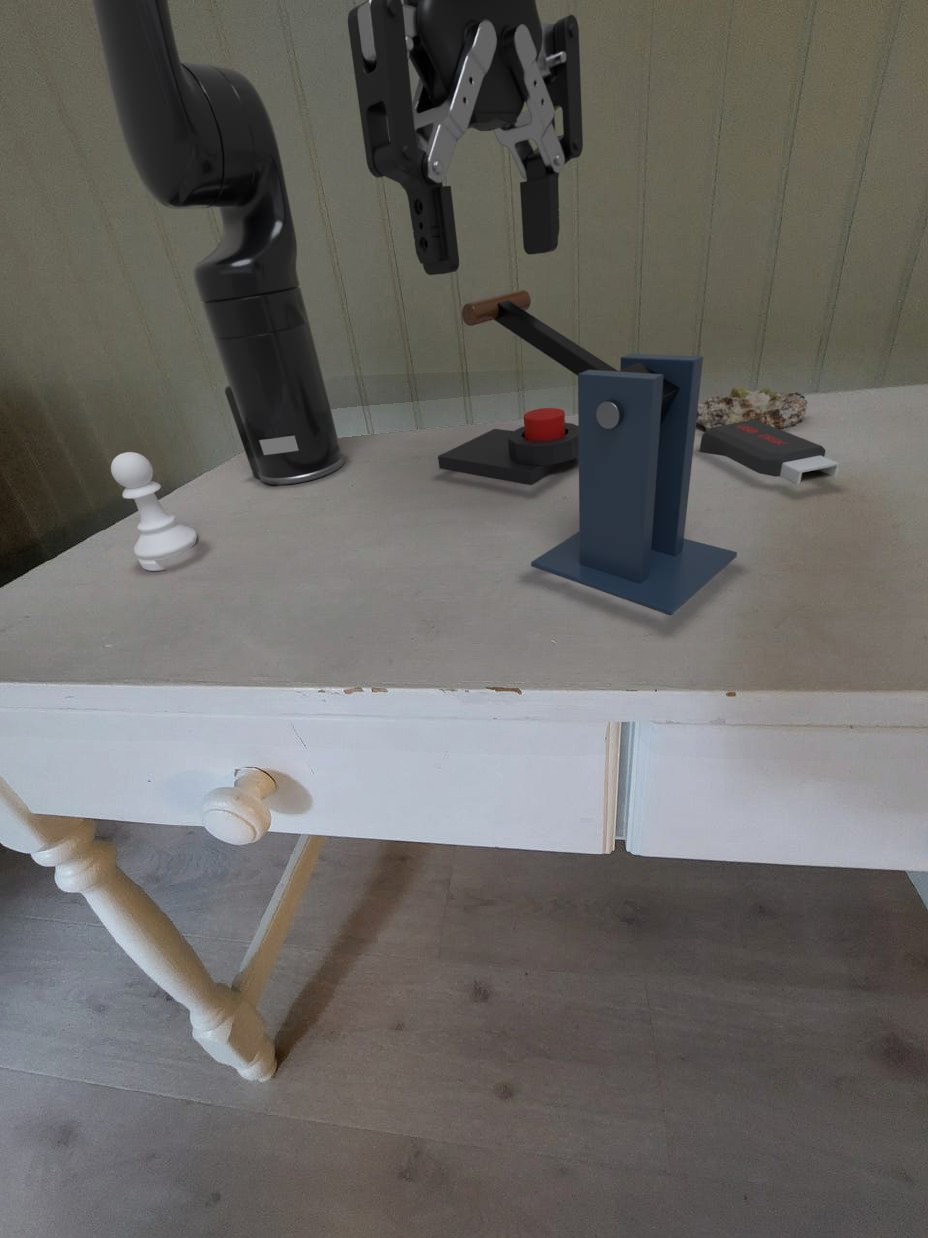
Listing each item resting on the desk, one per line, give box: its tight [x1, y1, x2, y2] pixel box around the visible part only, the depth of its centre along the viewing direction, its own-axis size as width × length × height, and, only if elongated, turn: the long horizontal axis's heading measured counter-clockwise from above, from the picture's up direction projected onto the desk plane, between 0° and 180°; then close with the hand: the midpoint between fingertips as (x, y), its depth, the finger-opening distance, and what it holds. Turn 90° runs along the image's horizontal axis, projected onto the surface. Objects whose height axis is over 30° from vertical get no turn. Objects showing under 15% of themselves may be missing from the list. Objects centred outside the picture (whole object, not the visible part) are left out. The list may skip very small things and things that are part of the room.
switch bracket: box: [530, 353, 738, 616], centre depth 33 cm, size 10×8×13 cm
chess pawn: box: [110, 451, 198, 572], centre depth 46 cm, size 5×5×9 cm
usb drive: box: [699, 420, 841, 485], centre depth 48 cm, size 5×12×3 cm, turn 11°
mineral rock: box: [696, 385, 808, 432], centre depth 57 cm, size 11×4×8 cm
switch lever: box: [461, 289, 680, 426], centre depth 33 cm, size 13×5×2 cm, turn 44°
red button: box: [523, 407, 566, 441], centre depth 50 cm, size 4×4×2 cm
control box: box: [437, 422, 579, 486], centre depth 54 cm, size 13×9×4 cm
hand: (494, 262), depth 33 cm, fingers open, 8 cm apart
